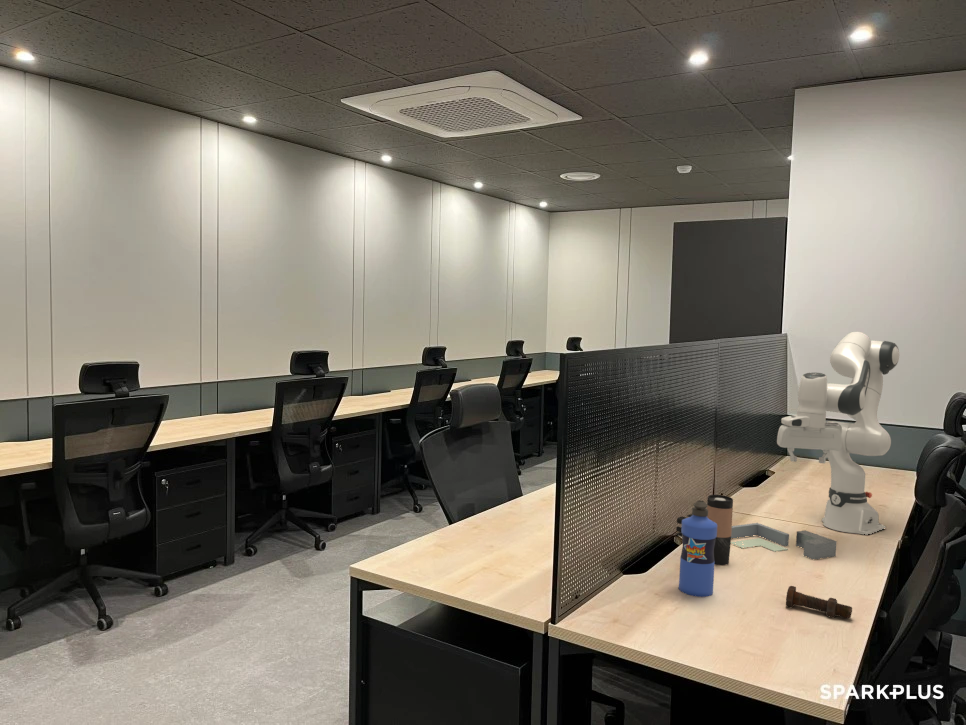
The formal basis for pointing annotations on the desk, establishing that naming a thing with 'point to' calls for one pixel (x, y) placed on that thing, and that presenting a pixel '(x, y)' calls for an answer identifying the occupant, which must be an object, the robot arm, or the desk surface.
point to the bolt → (817, 603)
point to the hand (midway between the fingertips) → (807, 462)
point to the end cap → (679, 520)
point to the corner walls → (760, 533)
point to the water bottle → (697, 552)
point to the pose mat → (759, 544)
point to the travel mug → (721, 525)
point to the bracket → (815, 545)
